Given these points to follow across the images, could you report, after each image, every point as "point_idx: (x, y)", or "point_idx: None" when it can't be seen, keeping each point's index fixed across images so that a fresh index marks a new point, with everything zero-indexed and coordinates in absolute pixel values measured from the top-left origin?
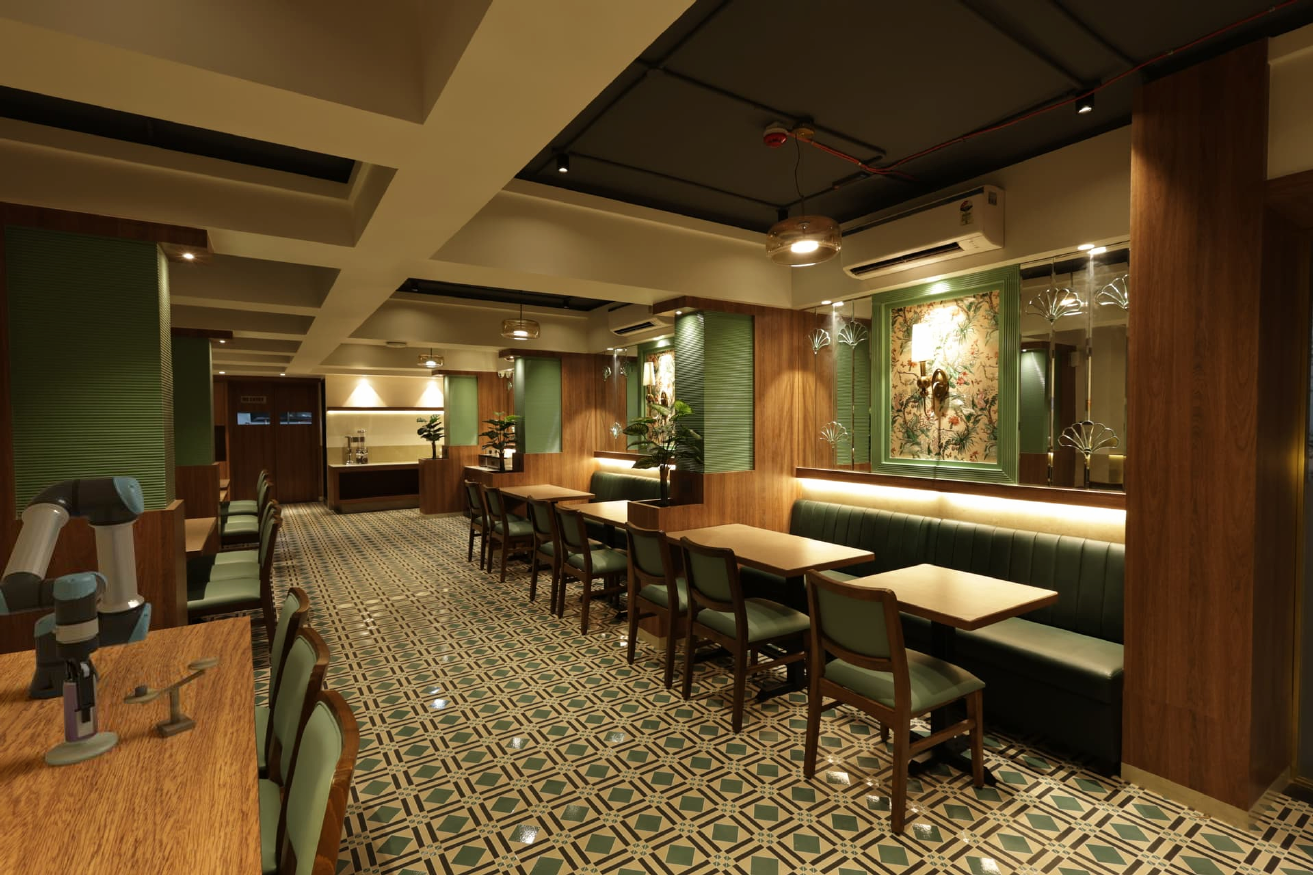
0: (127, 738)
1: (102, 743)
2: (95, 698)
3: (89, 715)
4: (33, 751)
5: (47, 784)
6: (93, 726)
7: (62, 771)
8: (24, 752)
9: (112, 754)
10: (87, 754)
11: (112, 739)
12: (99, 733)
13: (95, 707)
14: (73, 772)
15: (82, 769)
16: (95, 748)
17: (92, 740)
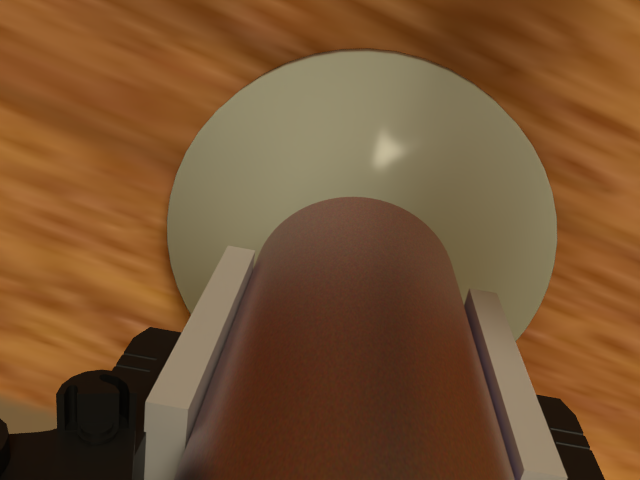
0: (475, 8)
1: (460, 180)
2: (488, 458)
3: (586, 455)
4: (90, 351)
5: (610, 474)
6: (459, 292)
7: (537, 394)
8: (61, 373)
9: (632, 185)
10: (536, 296)
11: (467, 117)
12: (246, 109)
13: (467, 372)
14: (617, 379)
15: (636, 347)
16: (496, 237)
17: (333, 188)
